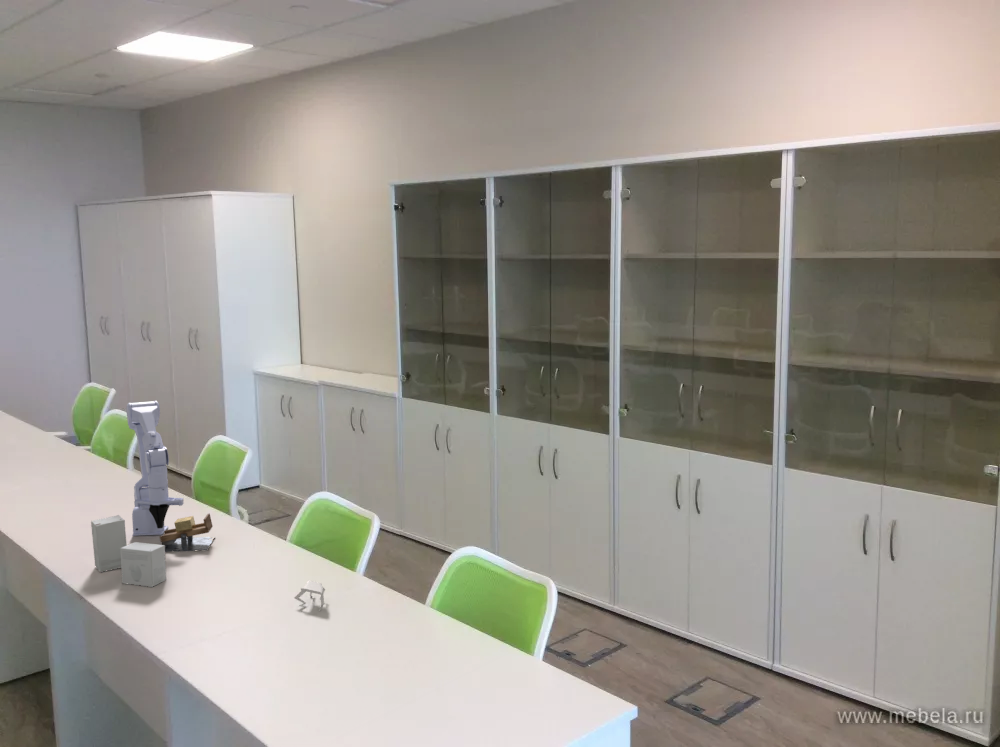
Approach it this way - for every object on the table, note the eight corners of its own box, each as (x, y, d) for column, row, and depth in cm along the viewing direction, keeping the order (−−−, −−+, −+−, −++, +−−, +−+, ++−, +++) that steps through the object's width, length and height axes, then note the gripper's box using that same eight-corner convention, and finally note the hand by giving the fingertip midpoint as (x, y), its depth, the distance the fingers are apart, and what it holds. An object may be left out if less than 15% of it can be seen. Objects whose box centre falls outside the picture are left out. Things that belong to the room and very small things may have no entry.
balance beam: (161, 546, 266) (157, 528, 265) (167, 540, 272) (162, 522, 271) (209, 537, 267) (205, 519, 267) (213, 530, 273) (209, 513, 272)
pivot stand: (157, 552, 263) (156, 537, 263) (168, 539, 275) (167, 525, 274) (207, 550, 265) (206, 535, 264) (215, 537, 277) (214, 523, 276)
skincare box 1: (123, 561, 255) (120, 514, 253) (129, 567, 251) (126, 519, 249) (93, 567, 250) (90, 519, 248) (98, 573, 245) (95, 524, 243)
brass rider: (177, 534, 267) (174, 522, 267) (180, 530, 271) (177, 519, 270) (193, 531, 268) (190, 519, 267) (196, 527, 272) (193, 515, 271)
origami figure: (287, 603, 226) (287, 586, 225) (313, 594, 232) (313, 577, 231) (314, 616, 218) (313, 598, 217) (340, 606, 224) (340, 589, 223)
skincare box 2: (167, 579, 242) (165, 544, 240) (152, 587, 236) (150, 551, 234) (136, 575, 244) (134, 540, 243) (121, 583, 238) (119, 548, 237)
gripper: (130, 490, 262) (132, 532, 263) (178, 489, 263) (180, 530, 265) (137, 484, 268) (139, 525, 270) (184, 482, 270) (186, 523, 272)
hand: (160, 527), depth 268 cm, fingers closed
